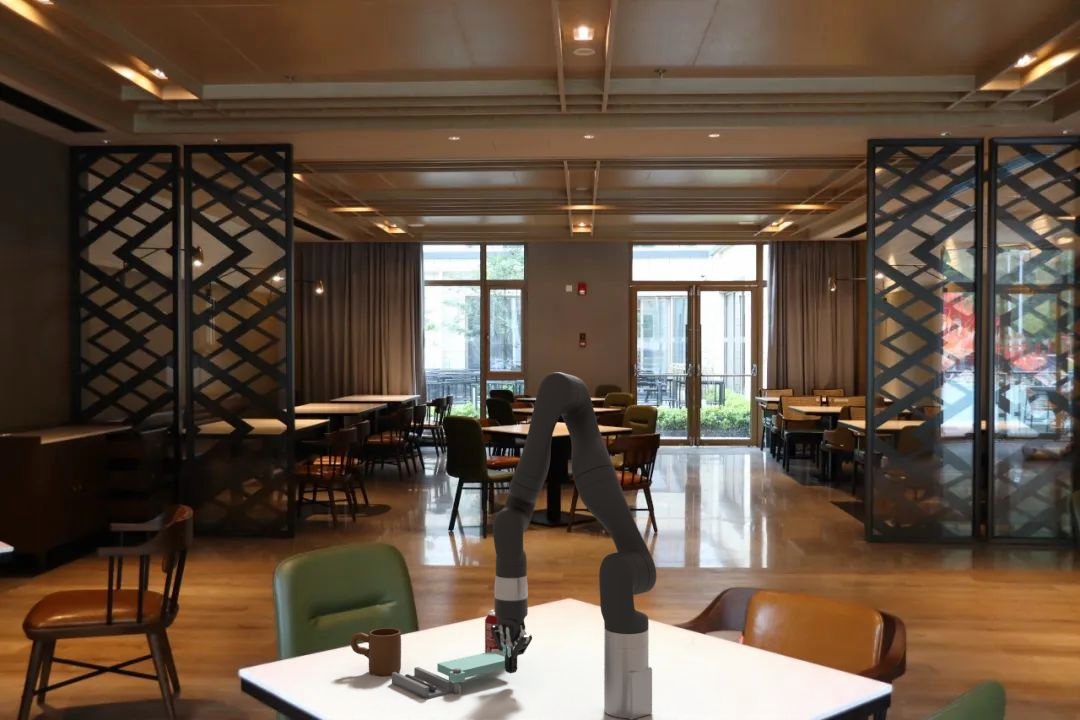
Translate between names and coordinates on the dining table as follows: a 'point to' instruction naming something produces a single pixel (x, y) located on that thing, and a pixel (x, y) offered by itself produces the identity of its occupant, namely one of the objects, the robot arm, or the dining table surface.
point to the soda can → (489, 639)
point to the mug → (380, 650)
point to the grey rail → (424, 683)
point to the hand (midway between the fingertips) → (510, 672)
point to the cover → (471, 666)
